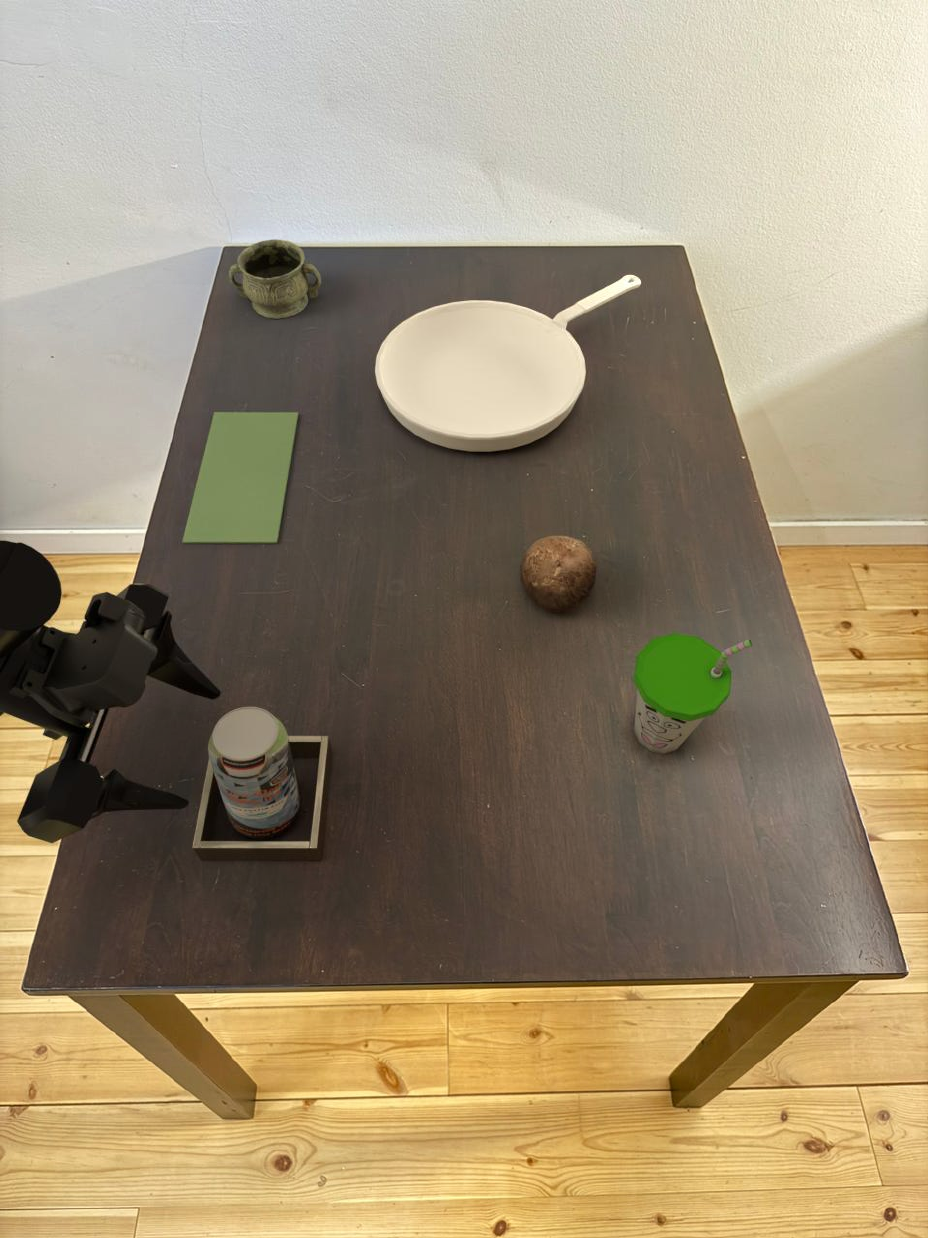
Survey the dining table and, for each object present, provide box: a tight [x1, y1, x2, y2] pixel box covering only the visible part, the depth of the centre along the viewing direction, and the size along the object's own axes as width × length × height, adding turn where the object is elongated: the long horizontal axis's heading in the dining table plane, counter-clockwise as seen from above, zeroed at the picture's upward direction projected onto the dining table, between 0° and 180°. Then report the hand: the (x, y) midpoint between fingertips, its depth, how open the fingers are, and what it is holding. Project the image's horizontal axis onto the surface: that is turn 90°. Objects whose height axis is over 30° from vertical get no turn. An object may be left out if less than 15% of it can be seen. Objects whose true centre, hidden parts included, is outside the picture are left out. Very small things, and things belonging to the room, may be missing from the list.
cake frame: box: [192, 735, 334, 861], centre depth 72 cm, size 10×10×3 cm
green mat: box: [181, 411, 299, 545], centre depth 95 cm, size 10×20×1 cm, turn 0°
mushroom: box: [519, 535, 598, 613], centre depth 84 cm, size 8×8×6 cm
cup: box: [632, 632, 753, 755], centre depth 71 cm, size 8×8×15 cm
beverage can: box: [207, 706, 301, 839], centre depth 68 cm, size 6×7×12 cm
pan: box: [374, 274, 642, 453], centre depth 104 cm, size 25×39×4 cm, turn 129°
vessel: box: [228, 238, 322, 320], centre depth 111 cm, size 12×9×6 cm
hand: (202, 748), depth 65 cm, fingers open, 9 cm apart
